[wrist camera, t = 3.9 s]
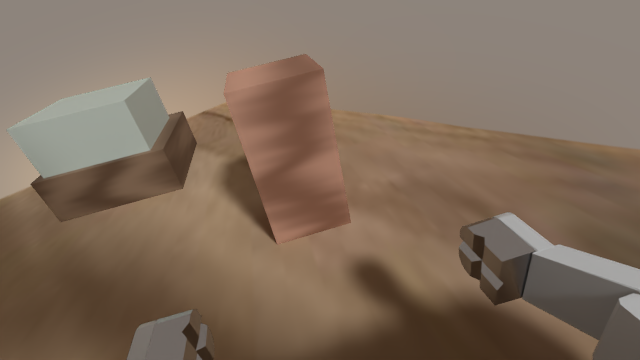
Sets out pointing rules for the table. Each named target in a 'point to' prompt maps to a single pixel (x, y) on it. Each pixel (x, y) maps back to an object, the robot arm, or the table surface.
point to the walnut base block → (123, 176)
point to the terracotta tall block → (290, 144)
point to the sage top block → (92, 128)
